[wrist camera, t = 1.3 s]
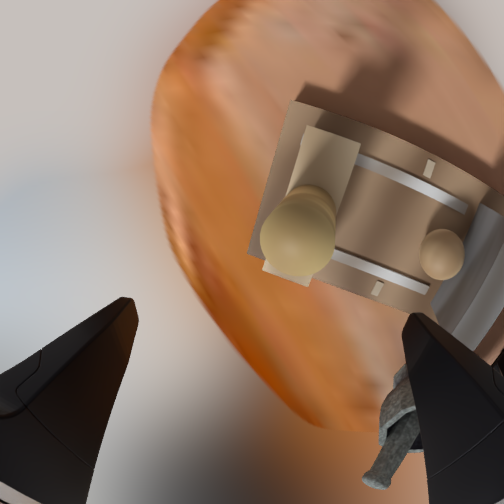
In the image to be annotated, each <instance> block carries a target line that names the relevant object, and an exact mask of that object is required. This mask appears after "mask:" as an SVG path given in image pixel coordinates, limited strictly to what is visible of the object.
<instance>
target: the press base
mask: <svg viewBox="0 0 504 504" xmlns="http://www.w3.org/2000/svg"><path fill="white" fill-rule="evenodd" d="M307 125H308V126H311V127H315V128H318V129H321V130H324V131H327V132H330V133H333V134H336V135H338V136H341V137H344V138H347V139H350V140H352V141H355V142H358V143H360V144H361V145H360V149H359V152H358V155H357V158H356V161H355V164H354V167H353V170H352V173H351V176H350V179H349V181H348V184H347V187H346V190H345V193H344V196H343V198H342V201H341V204H340V207H339V209H338V212H337V215H336V230H335V248H334V252H333V255H332V257H331V259H330V261H329V262H328V264H327V265H326V266H325V267H324V268H322V269H321V270H320V271H318V272H316V273H314V274H313V276H312V278H314V279H317V280H319V281H322V282H325V283H327V284H330V285H333V286H336V287H338V288H341V289H344V290H346V291H349V292H352V293H355V294H357V295H360V296H363V297H365V298H368V299H371V300H374V301H376V302H379V303H382V304H384V305H387V306H390V307H393V308H395V309H398V310H401V311H404V312H406V313H409V314H411V313H413V312H422V313H424V314H425V315H426V316H428V317H429V318H430V319H432V320H433V321H434V322H436V323H437V324H439V325H440V326H441V327H442V328H444V329H445V330H446V331H447V332H449V333H450V334H451V335H453V336H454V337H455V338H456V339H458V340H459V341H460V342H462V343H463V344H464V345H465V346H467V347H468V348H469V349H470V350H472V351H474V350H475V349H476V347H477V346H478V345H479V343H480V342H481V340H482V339H483V338H484V336H485V335H486V333H487V332H488V331H489V329H490V328H491V326H492V325H493V323H494V322H495V320H496V319H497V317H498V315H499V314H500V312H501V311H502V309H503V307H504V196H503V195H502V194H500V193H499V192H497V191H496V190H494V189H493V188H491V187H489V186H488V185H486V184H485V183H483V182H482V181H480V180H478V179H477V178H475V177H473V176H472V175H470V174H468V173H467V172H465V171H463V170H461V169H460V168H458V167H456V166H454V165H453V164H451V163H449V162H447V161H445V160H443V159H441V158H440V157H438V156H436V155H434V154H432V153H430V152H428V151H426V150H424V149H422V148H420V147H418V146H415V145H413V144H411V143H409V142H407V141H405V140H402V139H400V138H398V137H396V136H393V135H391V134H389V133H386V132H384V131H381V130H379V129H377V128H374V127H371V126H369V125H366V124H364V123H361V122H358V121H356V120H353V119H350V118H347V117H345V116H342V115H339V114H336V113H333V112H330V111H327V110H324V109H320V108H317V107H314V106H310V105H307V104H304V103H300V102H296V101H293V100H290V104H289V107H288V110H287V114H286V117H285V121H284V124H283V128H282V131H281V135H280V138H279V142H278V145H277V149H276V152H275V156H274V159H273V163H272V166H271V170H270V173H269V177H268V180H267V184H266V187H265V191H264V194H263V198H262V202H261V205H260V209H259V212H258V216H257V219H256V223H255V226H254V230H253V233H252V237H251V240H250V244H249V248H248V251H247V254H249V255H252V256H255V257H257V258H260V259H263V260H266V258H265V256H264V254H263V252H262V249H261V245H260V232H261V228H262V225H263V223H264V222H265V220H266V219H267V217H268V216H269V215H270V214H271V213H272V211H273V210H274V209H275V208H276V207H277V206H278V205H279V204H280V202H281V201H282V200H283V199H284V198H285V196H286V193H287V189H288V186H289V183H290V180H291V176H292V173H293V170H294V167H295V163H296V160H297V157H298V153H299V150H300V147H301V143H302V140H303V137H304V133H305V130H306V126H307ZM437 229H447V230H450V231H452V232H454V233H455V234H456V235H457V236H458V237H459V238H460V239H461V241H462V243H463V246H464V250H465V258H464V263H463V266H462V268H461V269H460V271H459V272H458V273H457V274H456V275H455V276H454V277H452V278H450V279H447V280H437V279H434V278H432V277H430V276H429V275H427V274H426V273H425V271H424V270H423V268H422V266H421V264H420V260H419V249H420V245H421V243H422V241H423V239H424V238H425V237H426V235H428V234H429V233H430V232H432V231H434V230H437Z"/></svg>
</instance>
